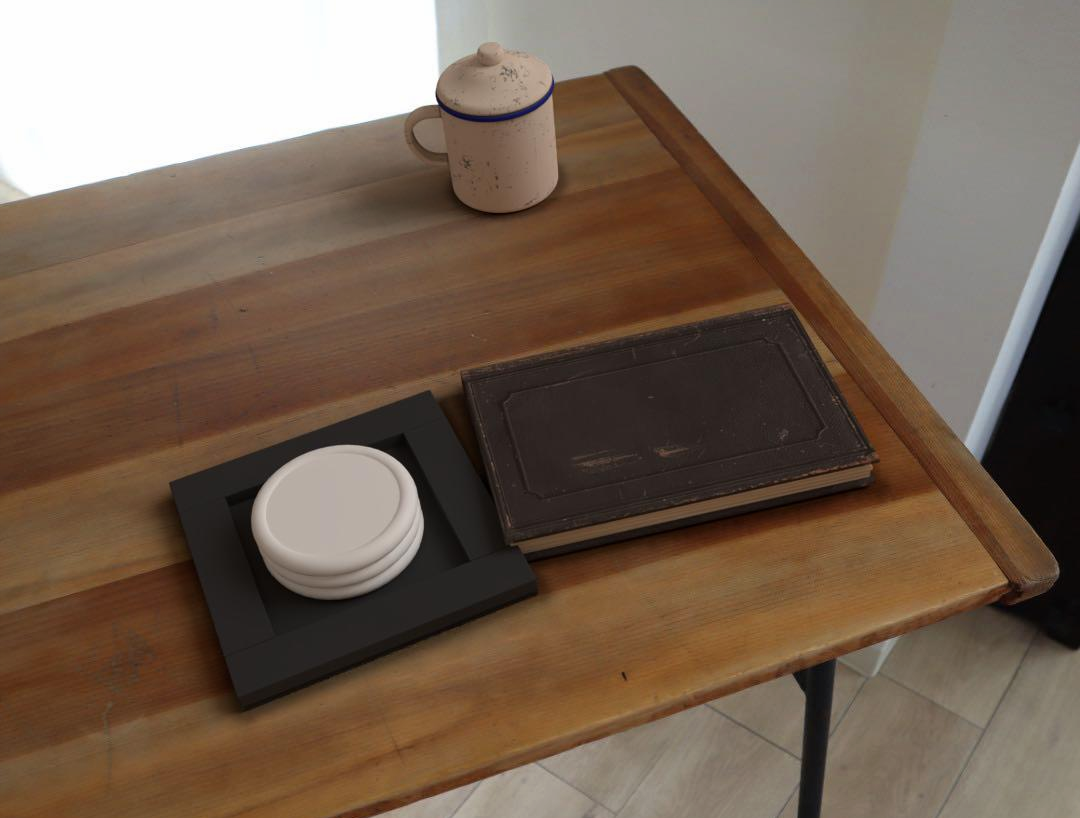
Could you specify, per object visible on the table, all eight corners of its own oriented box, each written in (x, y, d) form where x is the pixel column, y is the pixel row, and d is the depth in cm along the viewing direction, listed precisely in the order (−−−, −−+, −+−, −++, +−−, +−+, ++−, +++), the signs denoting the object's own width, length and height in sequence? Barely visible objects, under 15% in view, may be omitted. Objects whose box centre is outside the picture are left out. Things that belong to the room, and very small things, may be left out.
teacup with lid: (559, 147, 99) (548, 11, 90) (564, 211, 93) (553, 73, 84) (417, 160, 99) (392, 26, 90) (413, 225, 93) (387, 88, 84)
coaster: (458, 530, 72) (450, 492, 69) (334, 632, 68) (321, 596, 65) (353, 455, 77) (341, 417, 74) (231, 546, 73) (215, 509, 70)
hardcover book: (874, 484, 72) (880, 458, 70) (509, 566, 70) (505, 541, 69) (784, 323, 82) (786, 297, 81) (463, 390, 81) (458, 365, 79)
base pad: (175, 497, 77) (168, 481, 75) (433, 405, 80) (430, 388, 79) (244, 712, 66) (236, 697, 64) (539, 594, 69) (537, 578, 68)
